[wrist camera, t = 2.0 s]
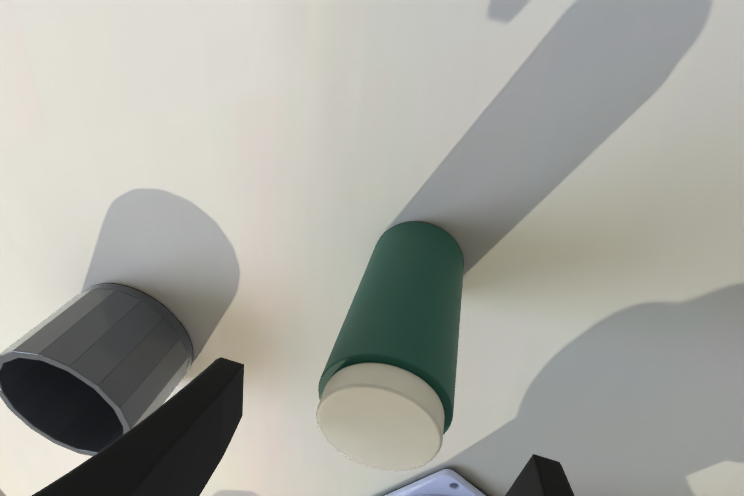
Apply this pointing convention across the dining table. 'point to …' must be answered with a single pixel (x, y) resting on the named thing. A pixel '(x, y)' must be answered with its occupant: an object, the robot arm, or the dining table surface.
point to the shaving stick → (397, 353)
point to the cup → (95, 367)
